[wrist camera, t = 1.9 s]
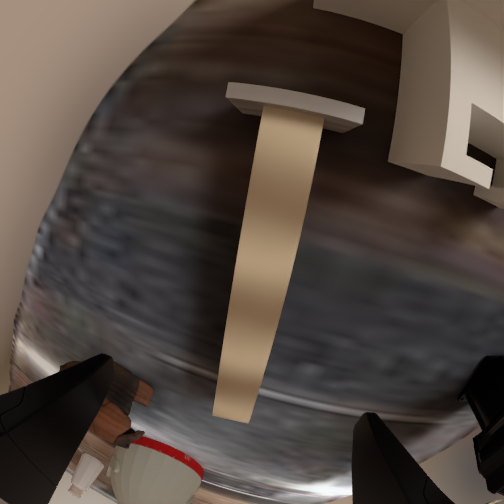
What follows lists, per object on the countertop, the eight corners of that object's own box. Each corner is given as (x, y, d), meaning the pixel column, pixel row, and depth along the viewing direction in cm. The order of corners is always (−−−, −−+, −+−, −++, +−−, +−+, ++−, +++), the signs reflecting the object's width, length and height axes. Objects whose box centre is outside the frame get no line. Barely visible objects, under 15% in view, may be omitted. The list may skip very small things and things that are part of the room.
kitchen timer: (112, 447, 33) (78, 510, 19) (131, 423, 29) (86, 508, 15) (182, 484, 35) (160, 548, 20) (220, 468, 30) (198, 554, 16)
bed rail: (272, 393, 23) (267, 436, 18) (204, 378, 24) (189, 418, 19) (344, 121, 15) (365, 108, 11) (244, 101, 16) (228, 81, 11)
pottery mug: (180, 401, 26) (149, 463, 21) (142, 386, 32) (116, 435, 27) (87, 337, 21) (45, 409, 16) (70, 333, 27) (38, 386, 22)
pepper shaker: (78, 450, 38) (57, 483, 28) (93, 455, 37) (72, 491, 27) (93, 463, 40) (75, 496, 29) (109, 468, 39) (90, 504, 28)
